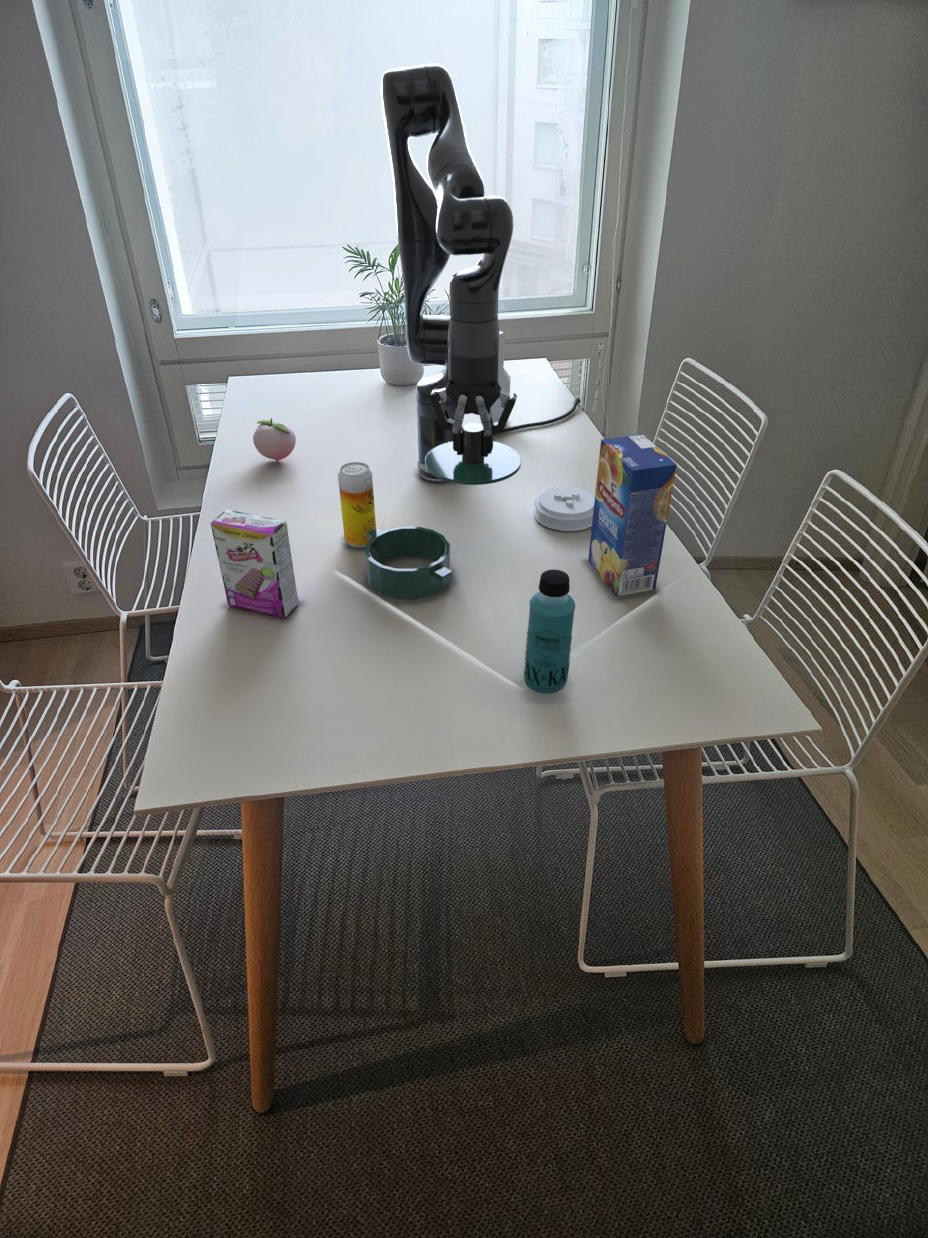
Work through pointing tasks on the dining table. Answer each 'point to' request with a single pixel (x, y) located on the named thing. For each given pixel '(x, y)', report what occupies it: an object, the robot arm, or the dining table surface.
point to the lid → (565, 508)
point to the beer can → (356, 502)
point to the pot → (407, 580)
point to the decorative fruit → (274, 439)
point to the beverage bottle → (549, 634)
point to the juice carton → (630, 513)
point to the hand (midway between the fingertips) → (472, 453)
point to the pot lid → (473, 460)
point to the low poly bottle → (501, 380)
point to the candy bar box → (255, 562)
